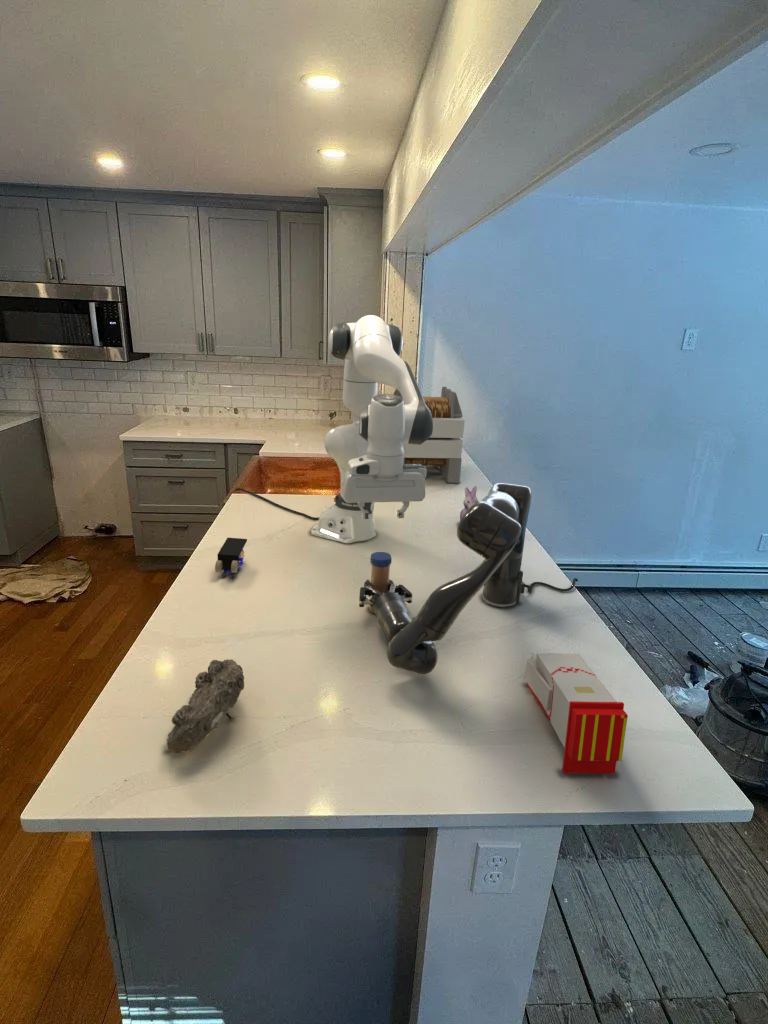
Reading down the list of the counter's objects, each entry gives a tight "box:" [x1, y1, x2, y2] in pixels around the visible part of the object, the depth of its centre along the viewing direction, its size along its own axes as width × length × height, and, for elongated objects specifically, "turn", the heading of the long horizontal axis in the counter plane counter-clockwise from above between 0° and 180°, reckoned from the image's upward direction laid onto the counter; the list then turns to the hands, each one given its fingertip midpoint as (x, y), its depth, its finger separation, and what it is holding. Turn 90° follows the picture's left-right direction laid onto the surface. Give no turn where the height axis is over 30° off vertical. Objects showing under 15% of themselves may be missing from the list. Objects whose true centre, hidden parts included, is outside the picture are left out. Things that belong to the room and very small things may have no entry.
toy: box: [523, 652, 628, 775], centre depth 110 cm, size 12×13×30 cm
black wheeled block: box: [214, 537, 248, 578], centre depth 166 cm, size 7×8×15 cm
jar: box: [369, 563, 391, 615], centre depth 147 cm, size 5×5×15 cm
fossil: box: [166, 658, 245, 754], centre depth 106 cm, size 22×10×15 cm
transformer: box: [392, 386, 465, 484], centre depth 268 cm, size 34×33×41 cm
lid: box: [369, 551, 392, 567], centre depth 144 cm, size 5×5×2 cm
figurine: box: [459, 485, 479, 521], centre depth 207 cm, size 9×10×15 cm
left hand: (382, 518), depth 140 cm, fingers open, 7 cm apart
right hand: (377, 582), depth 149 cm, fingers closed on jar, 5 cm apart
